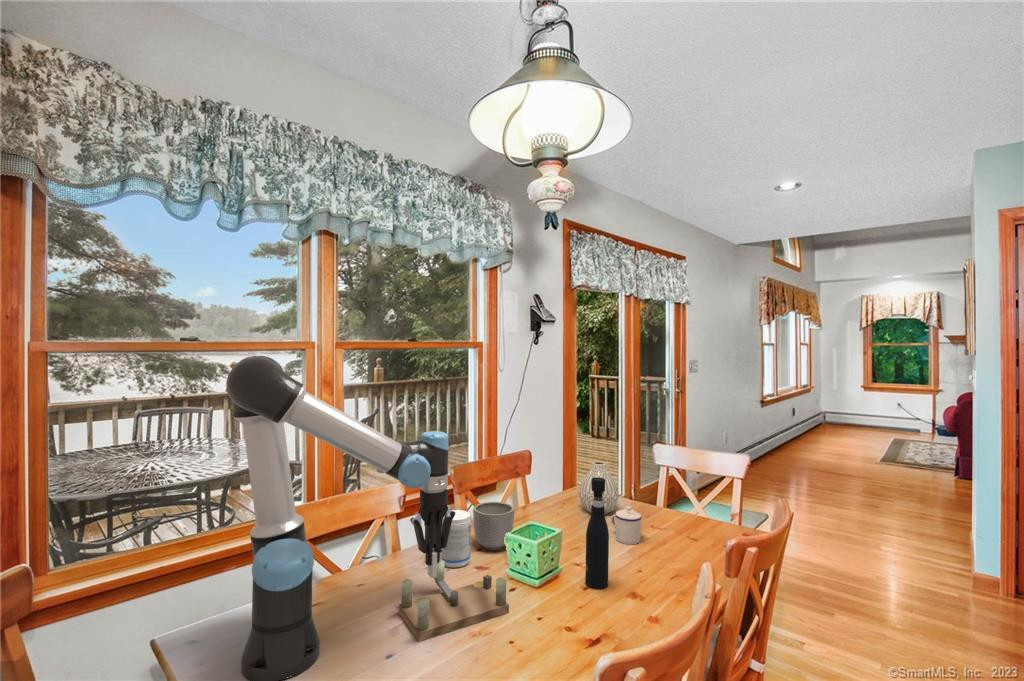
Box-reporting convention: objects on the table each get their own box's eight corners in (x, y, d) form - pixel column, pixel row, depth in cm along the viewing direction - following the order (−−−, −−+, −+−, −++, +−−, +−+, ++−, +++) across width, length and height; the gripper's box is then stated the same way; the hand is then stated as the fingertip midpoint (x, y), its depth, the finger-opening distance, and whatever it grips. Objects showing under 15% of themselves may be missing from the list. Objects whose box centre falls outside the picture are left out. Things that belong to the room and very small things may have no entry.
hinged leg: (457, 599, 125) (457, 577, 125) (447, 601, 124) (447, 579, 124) (442, 578, 136) (442, 558, 136) (432, 581, 134) (432, 560, 134)
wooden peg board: (419, 641, 111) (419, 606, 111) (398, 611, 123) (398, 579, 123) (510, 612, 124) (510, 580, 124) (483, 587, 136) (483, 558, 136)
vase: (578, 516, 194) (579, 466, 194) (579, 503, 210) (580, 457, 210) (619, 519, 191) (619, 468, 191) (617, 506, 207) (617, 459, 207)
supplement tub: (475, 564, 150) (476, 516, 150) (448, 571, 145) (448, 522, 145) (461, 552, 158) (462, 507, 159) (434, 559, 153) (435, 512, 153)
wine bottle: (612, 584, 139) (614, 479, 140) (600, 592, 135) (601, 483, 135) (593, 576, 144) (595, 474, 144) (580, 584, 139) (582, 478, 139)
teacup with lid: (646, 541, 170) (647, 507, 171) (630, 547, 165) (630, 513, 165) (619, 530, 180) (620, 498, 180) (603, 536, 174) (603, 503, 174)
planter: (521, 549, 162) (522, 510, 162) (486, 559, 154) (486, 518, 154) (499, 535, 173) (499, 499, 173) (465, 543, 165) (465, 505, 166)
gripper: (418, 496, 126) (417, 588, 126) (461, 488, 134) (459, 574, 134) (406, 489, 132) (404, 577, 132) (447, 482, 140) (445, 564, 140)
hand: (432, 575), depth 133 cm, fingers closed
